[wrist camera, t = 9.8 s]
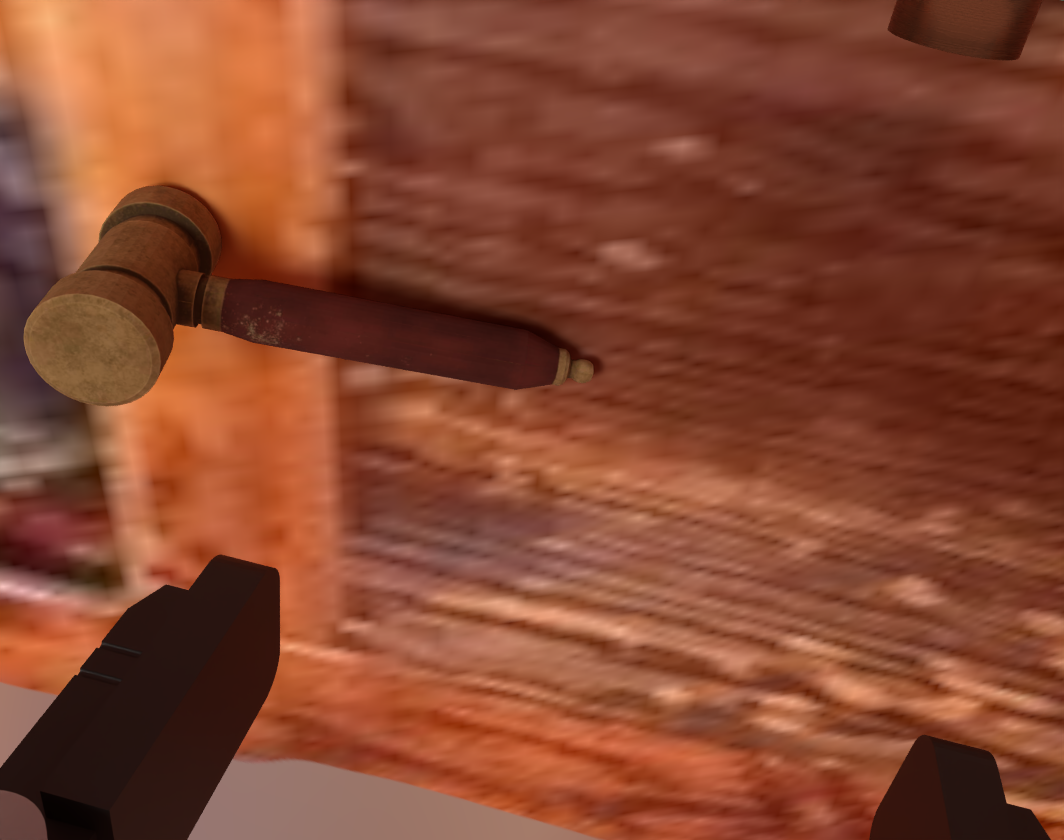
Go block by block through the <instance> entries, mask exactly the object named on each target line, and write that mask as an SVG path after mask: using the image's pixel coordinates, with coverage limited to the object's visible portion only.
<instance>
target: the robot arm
mask: <svg viewBox="0 0 1064 840" xmlns="http://www.w3.org/2000/svg"><path fill="white" fill-rule="evenodd" d="M279 655H280V577H279V572H278V570H277V569H276V568H272V567H268V566H264V565H260V564H256V563H252V562H249V561H245V560H241V559H237V558H233V557H229V556H225V555H217V556H216V557H214V558H213V559H212V560H211V561H210V562H209V563H208V565H207V566H206V567H205V569H204V570H203V571H202V573H201V574H200V575H199V577H198V578H197V579H196V581H195V582H194V584H193V585H192V586H191V588H190V589H189V590H185V589H182V588H178V587H174V586H170V585H164V586H163V587H161V588H160V589H158V590H157V591H155V592H153V593H152V594H150V595H149V596H147V597H146V598H144V599H142V600H141V601H139V602H138V603H136V604H135V605H133V606H131V607H130V608H128V609H127V610H126V612H125V613H124V614H123V615H122V617H121V618H120V619H119V620H118V622H117V623H116V624H115V625H114V627H113V628H112V629H111V630H110V632H109V633H108V634H107V635H106V637H105V638H104V639H103V640H102V644H101V646H100V648H96V649H95V650H94V652H93V653H92V654H91V655H90V657H89V658H88V659H87V660H86V662H85V663H84V664H83V665H82V667H81V668H80V672H79V674H78V675H74V677H73V678H72V679H71V680H70V682H69V683H68V684H67V685H66V687H65V688H64V689H63V690H62V692H61V693H60V694H59V695H58V697H57V698H56V699H55V700H54V702H53V703H52V704H51V705H50V707H49V708H48V709H47V710H46V712H45V713H44V714H43V716H42V717H41V718H40V719H39V720H38V722H37V723H36V724H35V725H34V727H33V728H32V729H31V730H30V732H29V733H28V734H27V735H26V737H25V738H24V739H23V740H22V741H21V743H20V744H19V745H18V747H17V748H16V749H15V750H14V752H13V753H12V754H11V755H10V756H9V758H8V759H7V760H6V762H5V763H4V764H3V765H2V767H1V768H0V840H187V839H188V837H189V835H190V833H191V831H192V830H193V828H194V826H195V824H196V823H197V821H198V819H199V817H200V815H201V814H202V812H203V810H204V808H205V807H206V805H207V803H208V801H209V800H210V798H211V796H212V794H213V792H214V791H215V789H216V787H217V785H218V783H219V782H220V780H221V778H222V776H223V775H224V773H225V771H226V769H227V768H228V766H229V764H230V762H231V761H232V759H233V757H234V755H235V753H236V752H237V750H238V748H239V746H240V745H241V743H242V741H243V739H244V737H245V736H246V734H247V732H248V730H249V729H250V727H251V725H252V723H253V721H254V720H255V718H256V716H257V714H258V713H259V711H260V709H261V707H262V705H263V704H264V702H265V700H266V698H267V696H268V694H269V691H270V689H271V686H272V684H273V681H274V678H275V674H276V671H277V667H278V662H279ZM869 840H1051V839H1050V838H1049V836H1048V835H1047V833H1046V832H1045V830H1044V829H1043V827H1042V826H1041V824H1040V823H1039V821H1038V820H1037V818H1036V817H1035V815H1034V814H1033V812H1032V811H1031V810H1030V809H1026V808H1022V807H1019V806H1015V805H1011V804H1007V803H1006V799H1005V795H1004V791H1003V787H1002V783H1001V779H1000V775H999V771H998V767H997V764H996V761H995V759H994V757H993V755H992V754H991V753H990V752H988V751H986V750H982V749H978V748H974V747H970V746H966V745H962V744H958V743H955V742H951V741H947V740H943V739H939V738H935V737H931V736H927V735H922V736H920V737H919V738H918V739H917V740H916V741H915V743H914V744H913V746H912V748H911V749H910V751H909V753H908V755H907V757H906V758H905V760H904V762H903V764H902V766H901V767H900V769H899V771H898V773H897V775H896V776H895V778H894V780H893V782H892V784H891V785H890V787H889V789H888V791H887V793H886V794H885V796H884V798H883V800H882V802H881V803H880V805H879V807H878V809H877V811H876V814H875V816H874V820H873V823H872V828H871V833H870V839H869Z"/></svg>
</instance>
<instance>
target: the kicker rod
mask: <svg viewBox="0 0 1064 840" xmlns="http://www.w3.org/2000/svg"><path fill="white" fill-rule="evenodd" d="M1041 3H1042V0H897V2H896V5H895V8H894V11H893V14H892V17H891V20H890V23H889V26H888V30H889V31H890V32H891V33H892V34H894V35H896V36H898V37H900V38H903V39H905V40H908V41H911V42H914V43H917V44H920V45H923V46H927V47H931V48H934V49H938V50H942V51H946V52H951V53H955V54H960V55H966V56H971V57H977V58H985V59H993V60H1016V59H1018V58H1019V57H1020V55H1021V52H1022V50H1023V47H1024V45H1025V42H1026V40H1027V37H1028V35H1029V32H1030V30H1031V28H1032V25H1033V23H1034V20H1035V18H1036V15H1037V13H1038V10H1039V8H1040V5H1041Z"/></svg>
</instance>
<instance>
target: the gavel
mask: <svg viewBox="0 0 1064 840" xmlns="http://www.w3.org/2000/svg"><path fill="white" fill-rule="evenodd" d="M221 249H222V241H221V234H220V231H219V227H218V225H217V223H216V221H215V219H214V217H213V216H212V215H211V213H210V212H209V211H208V209H207V208H206V207H205V206H204V205H203V204H201V203H200V202H199V201H198V200H196V199H195V198H194V197H192V196H191V195H189V194H187V193H185V192H183V191H181V190H178V189H174V188H171V187H166V186H146V187H143V188H139V189H136V190H134V191H133V192H131V193H129V194H128V195H126V196H125V197H124V198H123V199H122V200H121V201H120V202H119V204H118V205H117V206H116V207H115V209H114V210H113V211H112V212H111V214H110V215H109V216H108V218H107V219H106V220H105V222H104V223H103V225H102V228H101V231H100V233H99V243H98V244H97V246H96V247H95V248H94V249H93V251H92V252H91V253H90V255H89V256H88V257H87V259H86V260H85V261H84V262H83V264H82V265H81V266H80V268H79V269H78V270H77V272H76V273H74V274H70V275H68V276H67V277H65V278H63V279H61V280H60V281H58V282H57V283H56V284H55V285H54V286H53V287H52V288H51V289H50V291H49V292H48V293H47V294H46V296H45V297H44V298H43V299H42V301H41V302H40V303H39V304H38V306H37V307H36V308H35V309H34V311H33V312H32V314H31V315H30V317H29V318H28V320H27V323H26V326H25V329H24V344H25V350H26V353H27V355H28V358H29V360H30V362H31V364H32V365H33V367H34V368H35V370H36V371H37V373H38V374H39V375H40V376H41V377H42V378H43V379H44V380H45V381H46V382H47V383H48V384H49V385H51V386H52V387H53V388H54V389H56V390H57V391H59V392H61V393H62V394H64V395H66V396H68V397H70V398H72V399H75V400H77V401H80V402H83V403H87V404H92V405H99V406H117V405H123V404H127V403H131V402H133V401H135V400H137V399H139V398H141V397H142V396H144V395H145V394H146V393H147V392H149V391H150V389H151V388H152V387H153V385H154V384H155V383H156V381H157V379H158V377H159V375H160V373H161V371H162V369H163V367H164V365H165V363H166V361H167V359H168V357H169V355H170V353H171V350H172V347H173V341H174V335H173V329H174V327H175V325H176V324H178V325H184V326H189V327H197V325H198V324H202V328H204V329H210V330H215V331H221V332H224V333H227V334H230V335H233V336H236V337H239V338H242V339H244V340H247V341H250V342H253V343H258V344H264V345H269V346H275V347H281V348H286V349H292V350H297V351H303V352H308V353H314V354H320V355H325V356H331V357H336V358H342V359H347V360H353V361H359V362H364V363H370V364H375V365H381V366H386V367H392V368H398V369H403V370H409V371H414V372H420V373H425V374H431V375H437V376H442V377H448V378H453V379H459V380H465V381H470V382H476V383H481V384H487V385H492V386H498V387H504V388H509V389H515V390H517V389H523V388H530V387H537V386H544V385H551V384H552V385H558V386H559V385H561V384H563V383H564V382H565V381H566V379H567V378H572V379H573V380H574V381H576V382H579V383H586V382H589V381H590V380H591V378H592V376H593V374H594V368H593V364H592V363H591V362H590V361H588V360H585V359H578V360H571V358H570V354H569V352H568V351H567V350H566V349H562V348H558V347H556V346H554V345H553V344H551V343H549V342H547V341H546V340H544V339H542V338H540V337H538V336H537V335H535V334H533V333H531V332H530V331H528V330H525V329H519V328H514V327H509V326H504V325H498V324H493V323H488V322H482V321H477V320H472V319H467V318H461V317H456V316H451V315H446V314H440V313H435V312H430V311H425V310H419V309H414V308H409V307H404V306H398V305H393V304H388V303H383V302H377V301H372V300H367V299H362V298H356V297H351V296H346V295H340V294H335V293H330V292H325V291H319V290H314V289H309V288H304V287H298V286H293V285H288V284H283V283H277V282H272V281H267V280H249V279H228V278H223V277H218V276H213V275H211V274H212V272H213V270H214V268H215V266H216V264H217V262H218V260H219V258H220V254H221Z"/></svg>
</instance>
